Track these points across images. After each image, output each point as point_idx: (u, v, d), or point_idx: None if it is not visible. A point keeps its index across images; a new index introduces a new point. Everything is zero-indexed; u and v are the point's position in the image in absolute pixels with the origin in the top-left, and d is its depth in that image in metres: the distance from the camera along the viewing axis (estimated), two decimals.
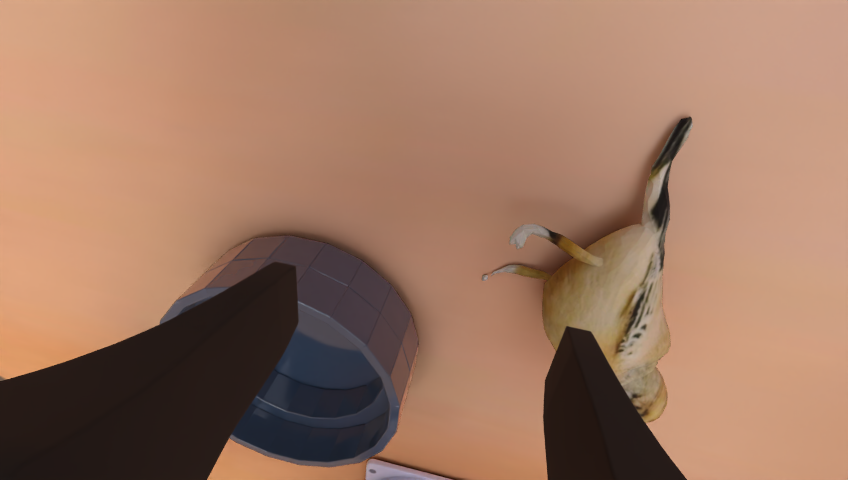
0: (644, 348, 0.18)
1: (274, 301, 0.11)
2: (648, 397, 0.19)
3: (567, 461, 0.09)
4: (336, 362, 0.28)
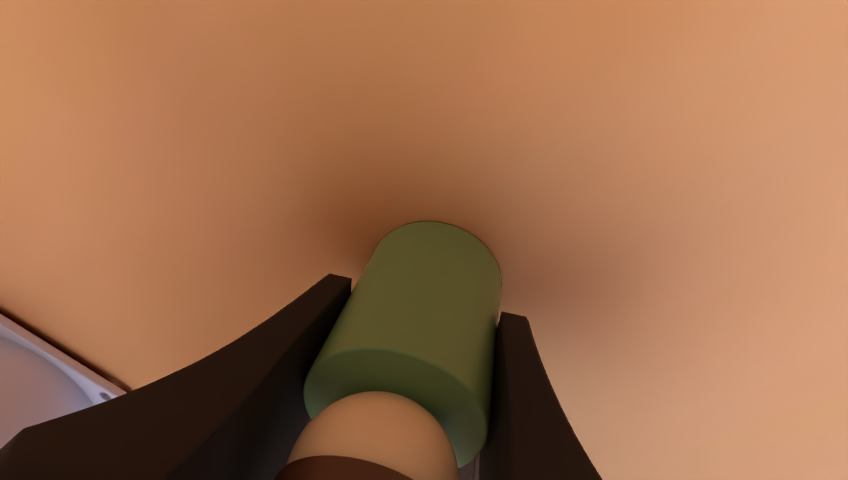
0: None
1: (334, 315, 0.11)
2: None
3: (490, 442, 0.09)
4: None
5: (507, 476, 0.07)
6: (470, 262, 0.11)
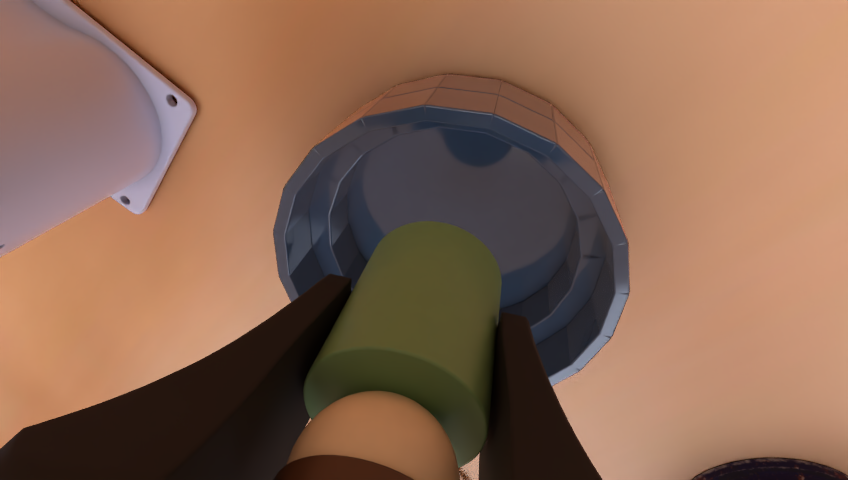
0: None
1: (334, 315, 0.11)
2: None
3: (490, 442, 0.09)
4: (396, 213, 0.21)
5: (507, 476, 0.07)
6: (470, 262, 0.11)
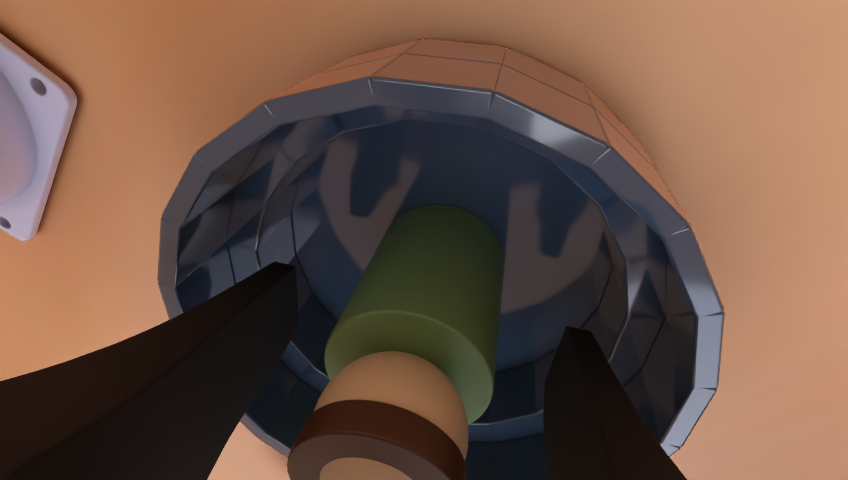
0: None
1: (274, 301, 0.11)
2: None
3: (567, 461, 0.09)
4: (359, 243, 0.15)
5: None
6: (476, 240, 0.12)
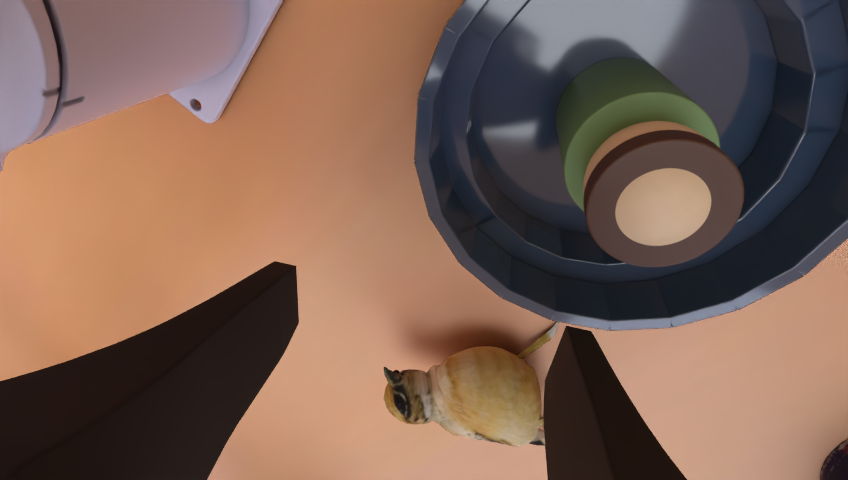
0: (464, 436, 0.22)
1: (274, 301, 0.11)
2: (419, 423, 0.22)
3: (567, 461, 0.09)
4: (536, 103, 0.17)
5: None
6: None
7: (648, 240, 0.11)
